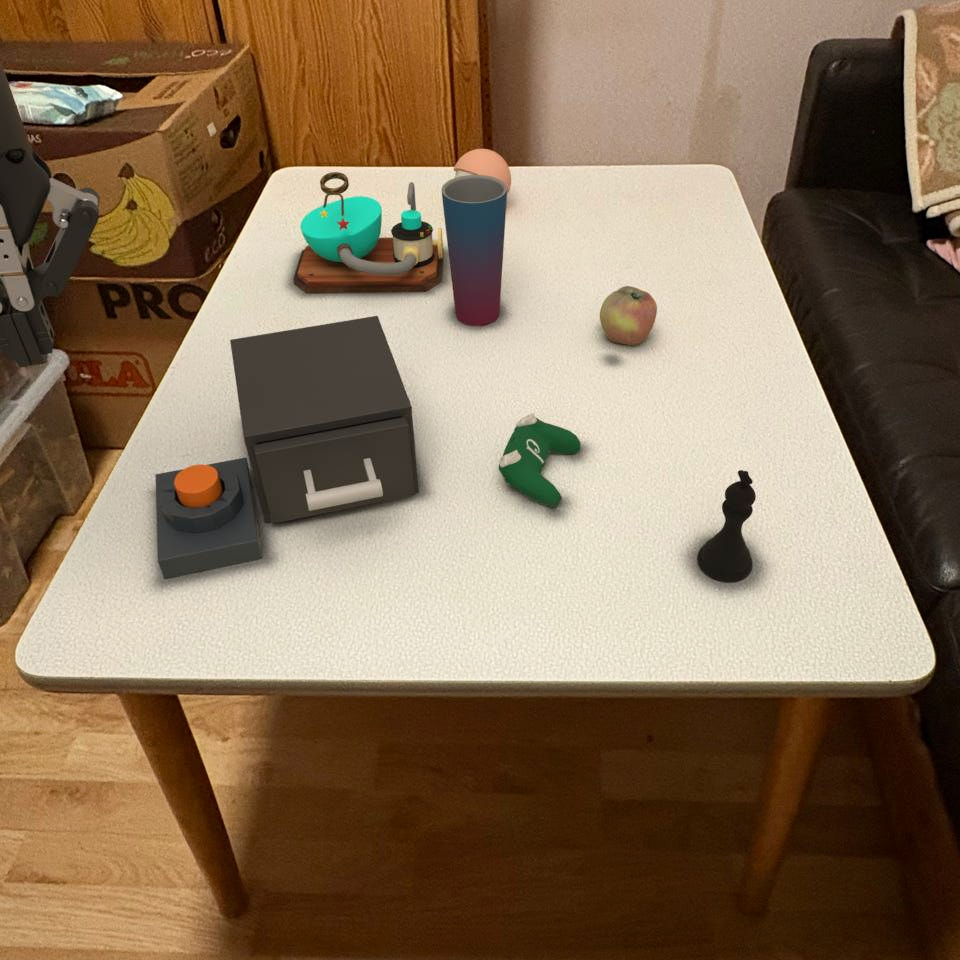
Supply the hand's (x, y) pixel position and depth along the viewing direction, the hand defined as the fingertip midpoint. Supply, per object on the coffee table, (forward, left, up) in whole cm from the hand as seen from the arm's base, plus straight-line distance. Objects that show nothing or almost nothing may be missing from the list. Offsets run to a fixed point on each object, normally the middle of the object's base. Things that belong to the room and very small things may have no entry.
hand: (35, 358), depth 54 cm
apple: (+51, +26, -25) cm, 63 cm away
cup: (+37, +36, -25) cm, 57 cm away
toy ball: (+45, +62, -25) cm, 81 cm away
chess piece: (+46, -7, -25) cm, 53 cm away
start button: (+6, +10, -21) cm, 24 cm away
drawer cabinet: (+17, +16, -25) cm, 34 cm away
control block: (+6, +10, -25) cm, 27 cm away
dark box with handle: (+17, +12, -24) cm, 32 cm away
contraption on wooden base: (+27, +49, -25) cm, 61 cm away
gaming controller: (+35, +8, -25) cm, 44 cm away
